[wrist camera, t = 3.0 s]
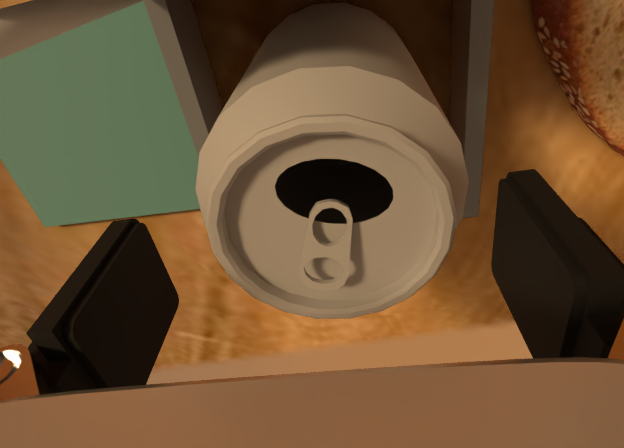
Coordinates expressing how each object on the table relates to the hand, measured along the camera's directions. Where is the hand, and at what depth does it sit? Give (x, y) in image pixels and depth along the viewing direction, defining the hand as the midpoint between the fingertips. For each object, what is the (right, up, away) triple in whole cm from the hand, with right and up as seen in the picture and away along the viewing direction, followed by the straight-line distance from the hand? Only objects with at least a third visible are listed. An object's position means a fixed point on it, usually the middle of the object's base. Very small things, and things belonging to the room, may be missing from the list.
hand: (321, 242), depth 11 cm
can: (+1, +7, +9) cm, 12 cm away
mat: (-12, +6, +10) cm, 17 cm away
